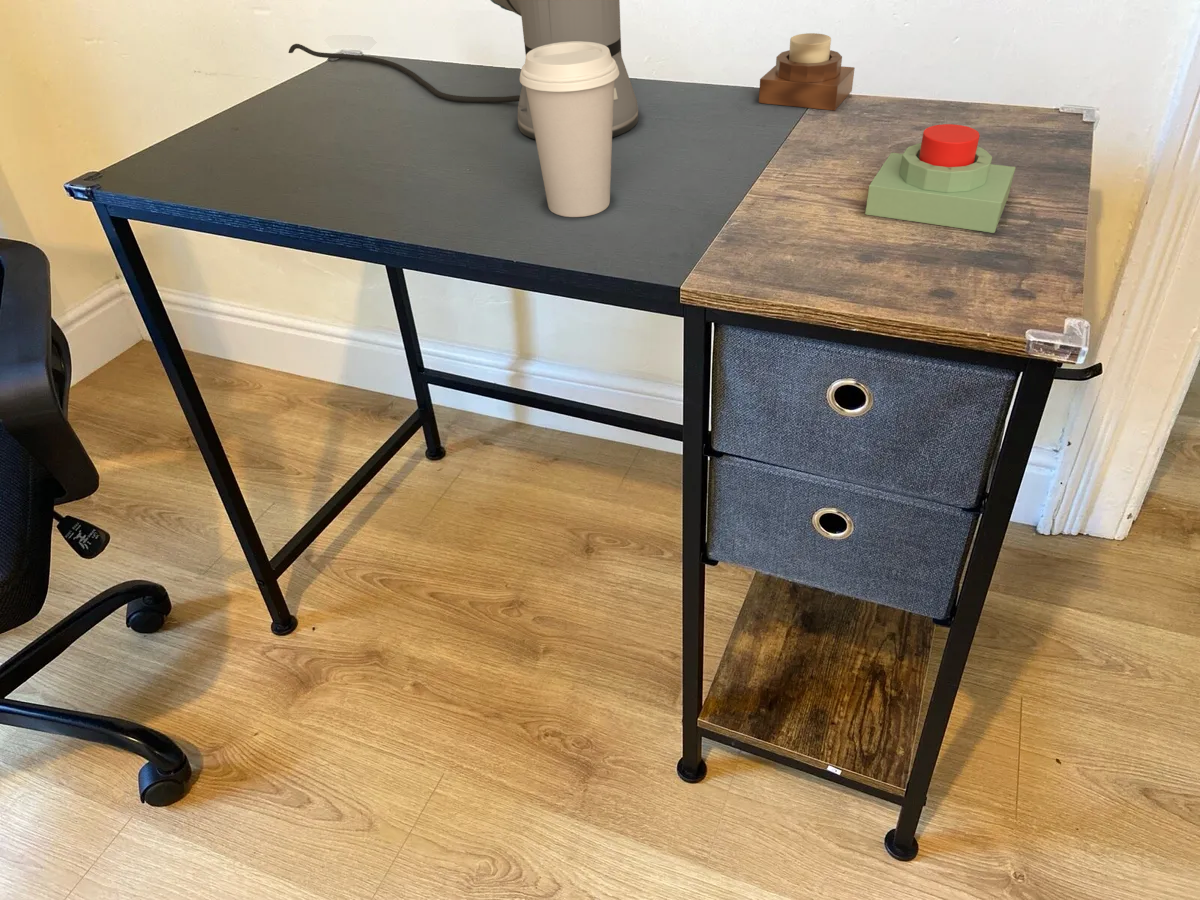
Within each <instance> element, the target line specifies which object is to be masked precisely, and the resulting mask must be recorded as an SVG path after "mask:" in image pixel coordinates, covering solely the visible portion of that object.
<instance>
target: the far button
mask: <svg viewBox="0 0 1200 900" xmlns="http://www.w3.org/2000/svg"><path fill="white" fill-rule="evenodd" d="M831 44H832V38H831V36H830V35H827V34H823V33H815V32H809V33H807V32H806V33H798V34H796V35H793V36H791V37H790V39H789V60H790V61H793V62H798V63H820V62H824V61H828V60H829V55H830V50H831V46H832V45H831Z"/></svg>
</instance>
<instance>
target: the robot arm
mask: <svg viewBox="0 0 1200 900" xmlns="http://www.w3.org/2000/svg"><path fill="white" fill-rule="evenodd" d="M490 2H491V3H493V4H495V5H497V6H499V7H500V8H501V9H503V10H505V11H509V12H512V13H514V14H516V15H518V16H519V17H521V25H522V34H523V36H522V37H523V43H524V52H525V53H524V54H525V56H526V55H527V53H528V52H529V51H531V50H533V49H535V48H537V47H540V46H544V45H548V44H553V43H560V42H572V41H583V42H594V43H599V44H602V45H605V46H606V47H608V48H609V50H610V54H611V57H612V58H613V59H614V60H615V62H616V64H617V66H618V70H619V76H618V77H617V78H616V79H615V80H614V100H613V125H612V138H614V137H617V136H620V135H623V134H625V133H626V132H628V131H630V130H632V128H634V127H635V126H636V125H637V124H638V122H639V106H638V100H637V96H636V95H635V91H634V89H633V85H632V82H631V79H630V76H629V73H628V71H627V68H626V64H625V62H624V59H623V56H622V55H623V54H622V36H621V35H622V31H621V2H620V0H490ZM297 49H298V50H301V51H303V52H305V53H307V54H309V55H311V56H313V57H317V58H324V59H325V58H326V59H344V60H356V61H364V62H369V63H370V62H371V63H376V64H381V65H385V66H388V67H390V68H391V67H392V68H393V69H396V70H398V71H401V72H402V73H404V74H405V75H408V76H409V77H411V78H412V79H413V80H415V81H416V82H417V83H418V84H419V85H421V86H423V87H424V88H426V89H427V90H428V91H429V92H430V93H431V94H433V95H435V96H436V97H438V98H440V99H444V100H448V101H453V102H459V103H460V102H461V103H485V104H486V103H491V104H492V103H498V104H499V103H514V102H518V105H517V124H518V125H517V126H518V129H519V131H520V133H521V134H522V135H524V136H526V137H528V138H530V139H533V140H536V138H535V133H534V128H533V122H532V117H531V112H530V107H529V102H528V97H527V92H526V87H525V86H524V85H522V84H521V89H520V94H519V95H509V96H507V95H506V96H466V95H455V94H450V93H445V92H442V91H440V90H438V89H436V88H435V87H434V86H433V85H431V84H430V83H429V82H428V81H426V80H424V79H423V78H422V77H421V76H419V75H418V74H417V73H416V72H414V71H412V70H411V69H408V68H407V67H405V66H403V65H401V64H399V63H397V62H393V61H391V60H389V59H388V60H387V59H383V58H380V57H375V56H368V55H362V54H353V53H335V52H334V53H333V52H321V51H320V52H319V51H315V50H312V49H311V48H309V47H307V46H305V45H303V44H301V43H294V44H292V45H291V46H290V47H289V49H288V54H294V52H295V50H297Z"/></svg>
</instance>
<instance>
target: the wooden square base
mask: <svg viewBox="0 0 1200 900" xmlns="http://www.w3.org/2000/svg"><path fill="white" fill-rule="evenodd" d="M789 50H790V49H789ZM789 50H785V51H781V52H780V53H779V54H778V55H777V56H776V59H775V66H773V67H772V68H771V69H770V70H768V72H766V73H765V74H763V76H762V77H761V78H760V79H759V90H758V91H759V92H758V104H764V105H765V104H766V105H776V106H783V107H784V106H786V107H796V108H805V109H815V110H826V111H837V109H838V108H839V106H840V105H841V104H842V103H843V102H844V101H845V100H846V99H847V98H848V96H849V95H850V94H851V93H852V91H853V84H854V76H855V67H854V66H853V67H852V66H843V65H842V62H843V55H841V54H840V53H839V52H838V51H835V50H831V49H830V55H829V60H828V61H824V62H820V63H798V62H793V61H790V60H789Z"/></svg>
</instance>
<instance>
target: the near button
mask: <svg viewBox="0 0 1200 900" xmlns="http://www.w3.org/2000/svg"><path fill="white" fill-rule="evenodd" d="M979 141H980V132H979V131H978V130H976V129H975V128H972V127H970V126H966V125H962V124H953V123H944V124H943V123H942V124H934V125H931V126H929V127H927V128H925V129H924V130H923V132H922V137H921V142H922V143H921V142H920V143H921V149H920V154H919V160H920V161H923V162H925V163H928V164H931V165H934V166H942V167H961V166H967V165H970V164H973V163H974V159H975V155H976V150H977V147H978V145H979Z"/></svg>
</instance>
